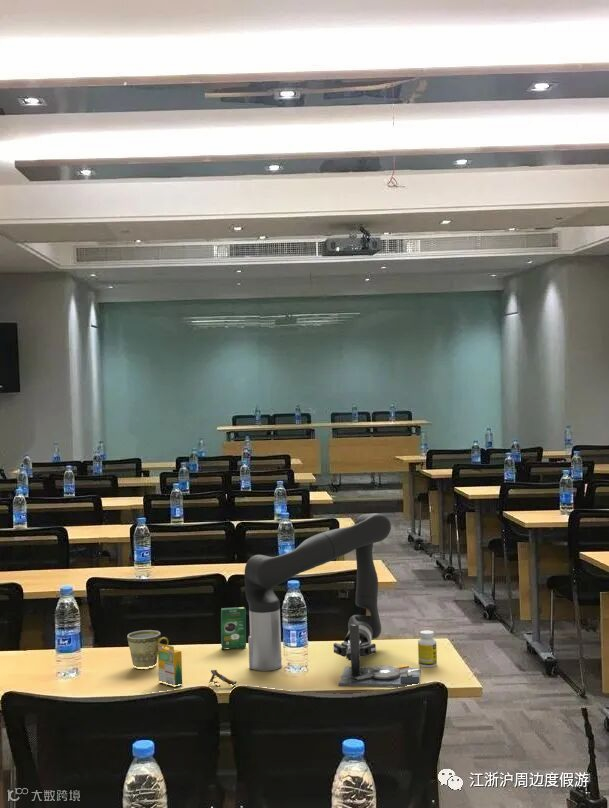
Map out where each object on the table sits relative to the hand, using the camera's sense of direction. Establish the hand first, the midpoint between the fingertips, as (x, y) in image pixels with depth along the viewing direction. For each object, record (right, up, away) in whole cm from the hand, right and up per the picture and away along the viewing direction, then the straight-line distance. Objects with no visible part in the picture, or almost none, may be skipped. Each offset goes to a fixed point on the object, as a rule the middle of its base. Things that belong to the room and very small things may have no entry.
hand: (350, 656), depth 239 cm
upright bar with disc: (+9, -6, +2) cm, 11 cm away
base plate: (+9, -7, +3) cm, 11 cm away
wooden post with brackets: (-36, -9, 0) cm, 37 cm away
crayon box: (-51, -9, +3) cm, 52 cm away
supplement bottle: (+24, -7, +13) cm, 28 cm away
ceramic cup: (-60, -10, +21) cm, 65 cm away
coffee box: (-36, -9, +39) cm, 54 cm away
